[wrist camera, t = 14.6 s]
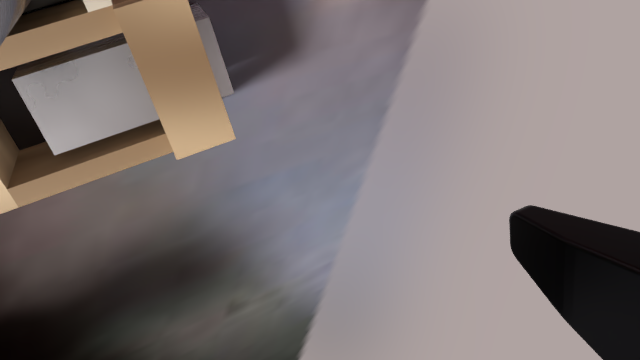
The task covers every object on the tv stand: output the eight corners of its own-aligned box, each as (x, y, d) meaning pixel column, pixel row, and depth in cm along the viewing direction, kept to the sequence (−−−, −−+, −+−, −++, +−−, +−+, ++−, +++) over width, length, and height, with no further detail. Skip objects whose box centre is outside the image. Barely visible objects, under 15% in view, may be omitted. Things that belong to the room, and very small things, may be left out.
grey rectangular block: (220, 71, 20) (234, 93, 18) (60, 125, 19) (54, 155, 17) (197, 2, 19) (209, 17, 17) (22, 56, 18) (11, 79, 16)
